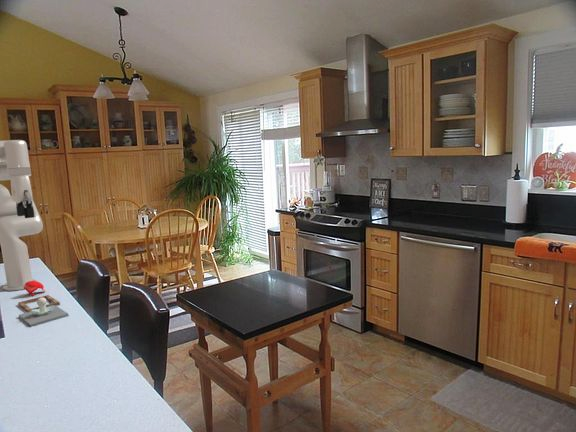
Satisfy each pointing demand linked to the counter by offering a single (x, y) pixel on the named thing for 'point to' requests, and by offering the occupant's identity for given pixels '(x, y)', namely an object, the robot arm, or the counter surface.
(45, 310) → the pacifier
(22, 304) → the pocket frame
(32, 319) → the slate mat
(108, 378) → the counter surface
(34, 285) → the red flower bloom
